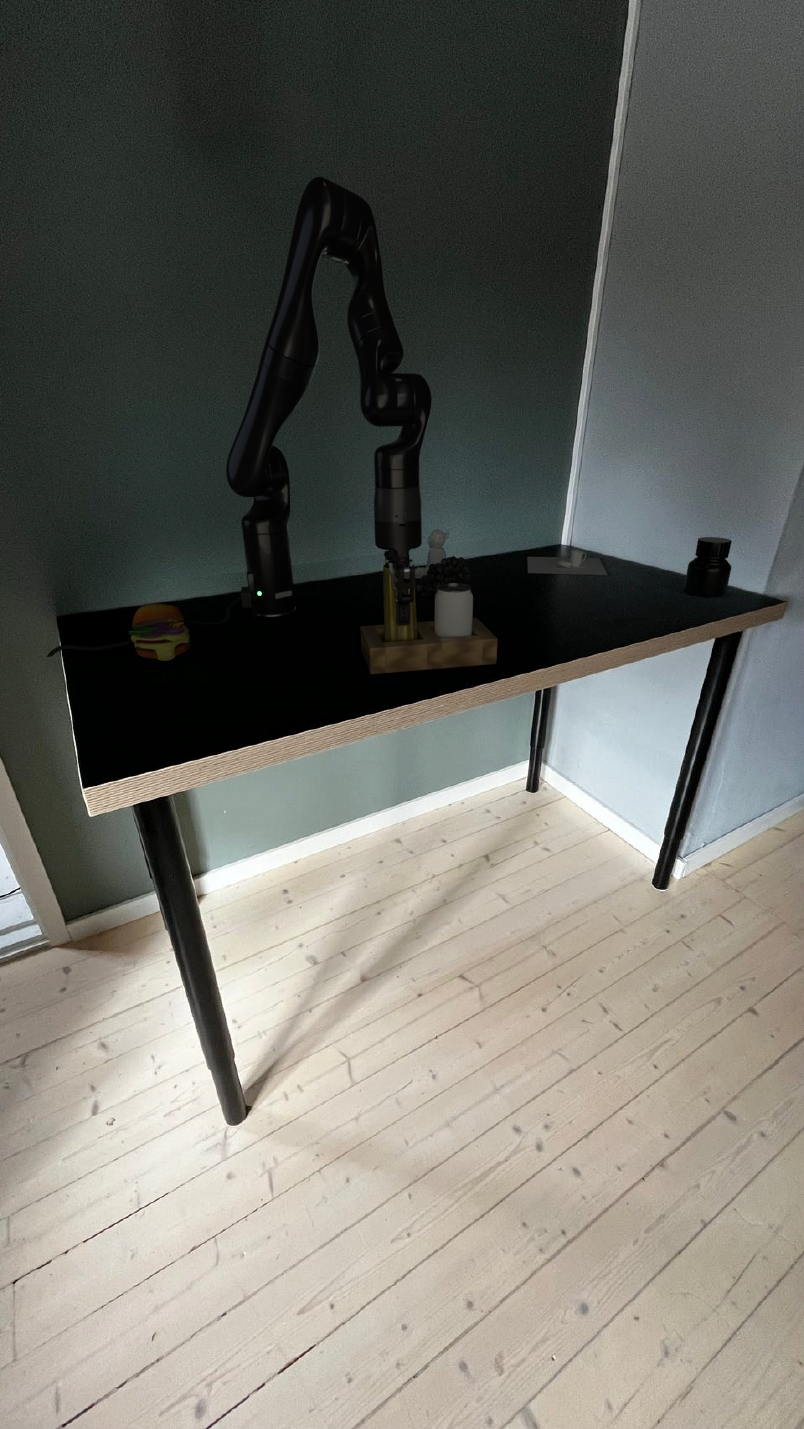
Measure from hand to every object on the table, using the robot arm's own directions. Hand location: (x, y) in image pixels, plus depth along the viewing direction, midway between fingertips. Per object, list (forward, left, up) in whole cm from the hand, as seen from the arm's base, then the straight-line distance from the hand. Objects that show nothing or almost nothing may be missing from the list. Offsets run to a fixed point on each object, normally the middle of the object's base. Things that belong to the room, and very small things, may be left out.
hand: (399, 619), depth 108 cm
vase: (0, 0, -5) cm, 5 cm away
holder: (+5, 0, -7) cm, 9 cm away
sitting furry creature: (+20, +56, -7) cm, 60 cm away
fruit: (+17, +39, -7) cm, 43 cm away
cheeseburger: (-41, +13, -7) cm, 44 cm away
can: (+9, 0, -7) cm, 12 cm away
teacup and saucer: (+57, +60, -7) cm, 83 cm away
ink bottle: (+76, +26, -7) cm, 80 cm away
